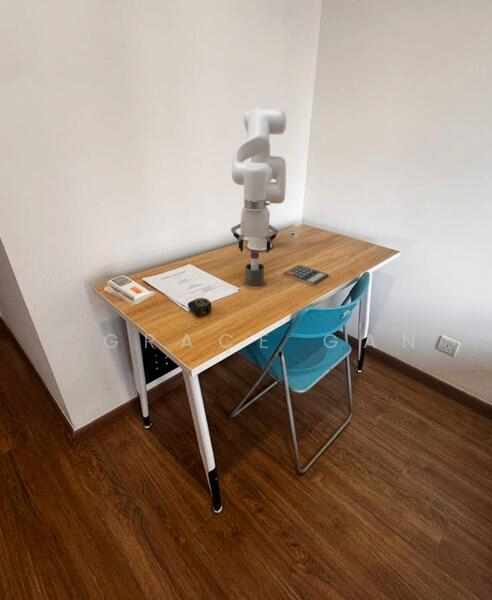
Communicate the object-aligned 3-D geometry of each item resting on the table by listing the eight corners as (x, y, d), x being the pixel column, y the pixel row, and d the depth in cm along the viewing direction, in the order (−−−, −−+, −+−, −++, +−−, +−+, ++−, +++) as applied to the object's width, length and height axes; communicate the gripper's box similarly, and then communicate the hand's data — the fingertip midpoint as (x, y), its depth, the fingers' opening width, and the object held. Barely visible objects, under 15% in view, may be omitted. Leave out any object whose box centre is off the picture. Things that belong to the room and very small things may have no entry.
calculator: (298, 264, 143) (328, 273, 135) (298, 266, 143) (328, 275, 135) (283, 272, 135) (313, 283, 127) (283, 274, 135) (313, 285, 127)
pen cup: (241, 285, 126) (241, 267, 122) (252, 278, 131) (252, 261, 128) (257, 290, 123) (257, 272, 119) (267, 283, 128) (267, 265, 124)
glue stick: (249, 282, 126) (249, 251, 120) (253, 280, 128) (253, 249, 122) (255, 284, 125) (255, 253, 118) (260, 282, 127) (260, 251, 121)
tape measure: (187, 310, 109) (186, 300, 107) (206, 304, 112) (205, 295, 110) (195, 319, 104) (194, 309, 102) (215, 313, 107) (214, 303, 105)
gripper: (279, 202, 115) (278, 248, 123) (231, 201, 115) (233, 246, 123) (279, 207, 108) (277, 255, 116) (228, 205, 108) (230, 253, 117)
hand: (254, 250), depth 120 cm, fingers open, 9 cm apart
